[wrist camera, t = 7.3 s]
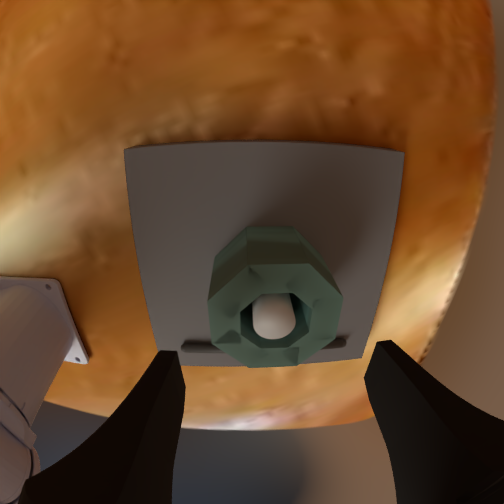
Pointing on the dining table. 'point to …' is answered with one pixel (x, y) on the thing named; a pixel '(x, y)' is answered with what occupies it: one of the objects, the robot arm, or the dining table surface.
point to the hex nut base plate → (257, 215)
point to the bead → (269, 282)
